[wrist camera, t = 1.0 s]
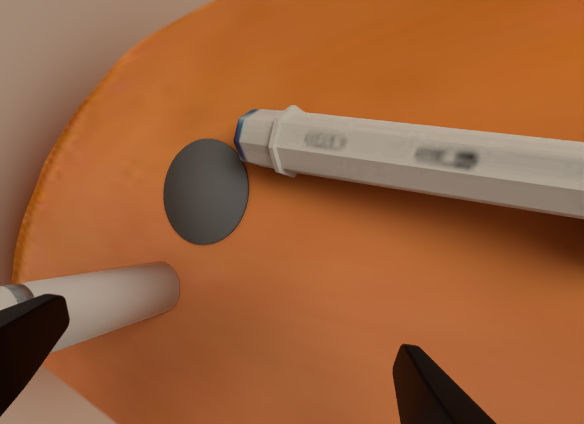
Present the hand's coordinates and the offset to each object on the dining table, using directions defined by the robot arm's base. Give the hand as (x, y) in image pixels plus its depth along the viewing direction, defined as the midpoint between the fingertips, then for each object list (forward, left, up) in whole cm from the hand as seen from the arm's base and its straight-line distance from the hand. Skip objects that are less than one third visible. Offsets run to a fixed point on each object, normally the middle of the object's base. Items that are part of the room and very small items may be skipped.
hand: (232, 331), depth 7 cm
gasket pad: (+9, +10, -13) cm, 18 cm away
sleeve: (+3, +17, -13) cm, 22 cm away
